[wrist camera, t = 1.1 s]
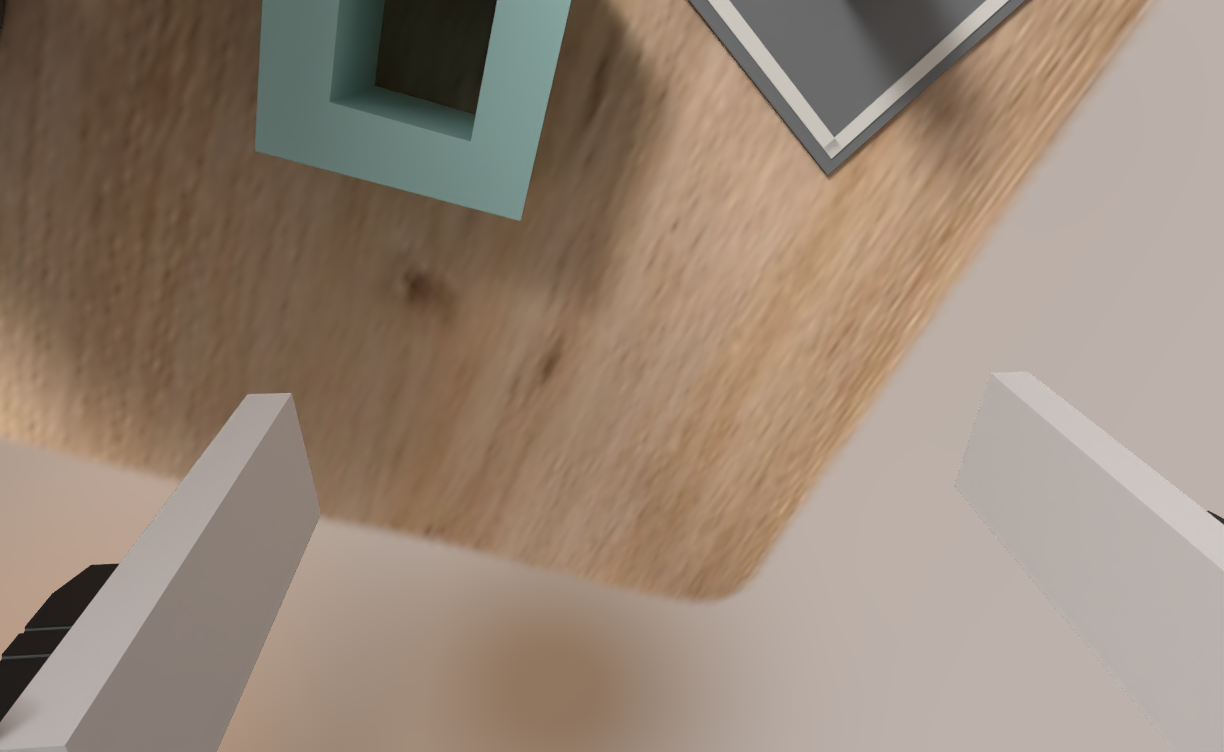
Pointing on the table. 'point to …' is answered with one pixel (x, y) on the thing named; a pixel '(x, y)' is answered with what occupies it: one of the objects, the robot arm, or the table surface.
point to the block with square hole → (406, 103)
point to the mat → (846, 58)
